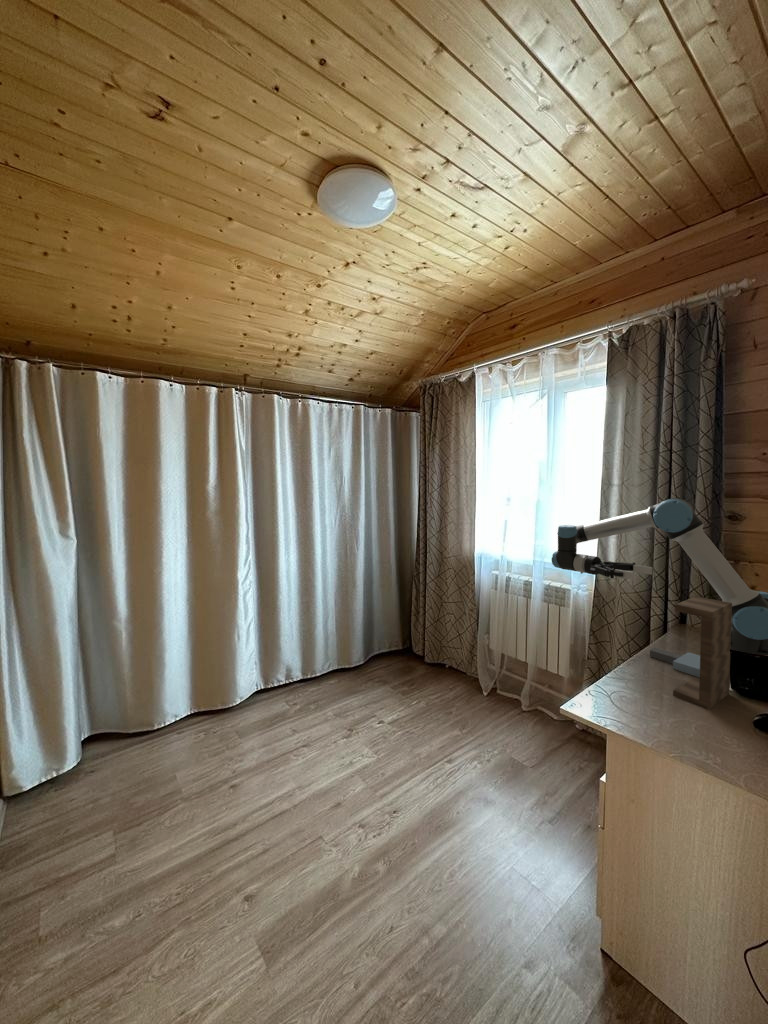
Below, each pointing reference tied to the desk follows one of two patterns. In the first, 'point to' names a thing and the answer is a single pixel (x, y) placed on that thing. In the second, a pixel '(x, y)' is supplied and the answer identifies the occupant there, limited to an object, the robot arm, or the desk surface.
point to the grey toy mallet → (679, 661)
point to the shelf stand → (709, 651)
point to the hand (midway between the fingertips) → (643, 573)
